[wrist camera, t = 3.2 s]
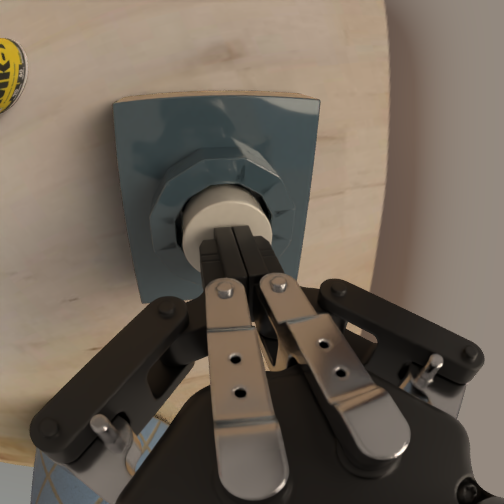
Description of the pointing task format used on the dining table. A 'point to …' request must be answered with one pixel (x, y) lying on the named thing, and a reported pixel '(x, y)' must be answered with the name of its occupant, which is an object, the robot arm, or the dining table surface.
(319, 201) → the dining table surface
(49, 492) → the planter
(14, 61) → the supplement bottle
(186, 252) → the white button cap
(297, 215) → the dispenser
